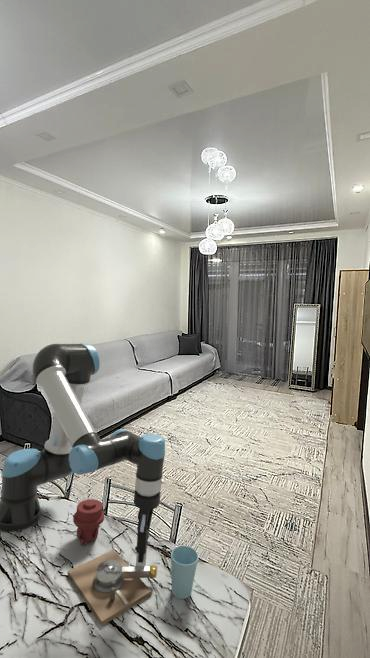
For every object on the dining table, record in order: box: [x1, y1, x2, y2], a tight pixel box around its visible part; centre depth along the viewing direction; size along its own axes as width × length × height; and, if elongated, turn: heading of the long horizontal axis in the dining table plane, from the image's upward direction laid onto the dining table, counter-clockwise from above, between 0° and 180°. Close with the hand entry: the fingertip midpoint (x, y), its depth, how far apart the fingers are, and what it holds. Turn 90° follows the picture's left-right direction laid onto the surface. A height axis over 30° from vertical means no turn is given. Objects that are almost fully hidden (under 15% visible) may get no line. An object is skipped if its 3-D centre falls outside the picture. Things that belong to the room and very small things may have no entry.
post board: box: [67, 549, 152, 627], centre depth 92 cm, size 20×15×4 cm
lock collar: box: [96, 560, 158, 588], centre depth 93 cm, size 7×17×3 cm, turn 99°
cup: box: [170, 545, 199, 600], centre depth 92 cm, size 8×8×10 cm
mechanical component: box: [72, 498, 105, 546], centre depth 110 cm, size 12×10×10 cm
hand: (140, 569), depth 95 cm, fingers closed
